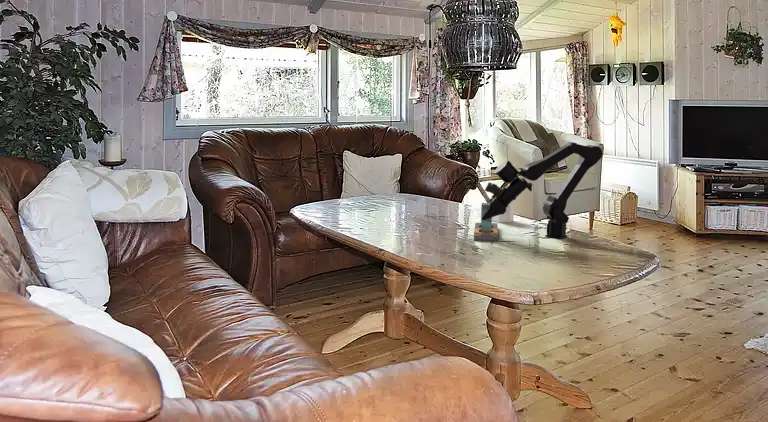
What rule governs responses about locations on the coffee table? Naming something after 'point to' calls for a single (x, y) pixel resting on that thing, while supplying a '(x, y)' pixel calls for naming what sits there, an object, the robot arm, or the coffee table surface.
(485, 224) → the peg
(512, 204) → the jar
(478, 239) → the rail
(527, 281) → the coffee table surface
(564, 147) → the robot arm
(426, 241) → the coffee table surface
